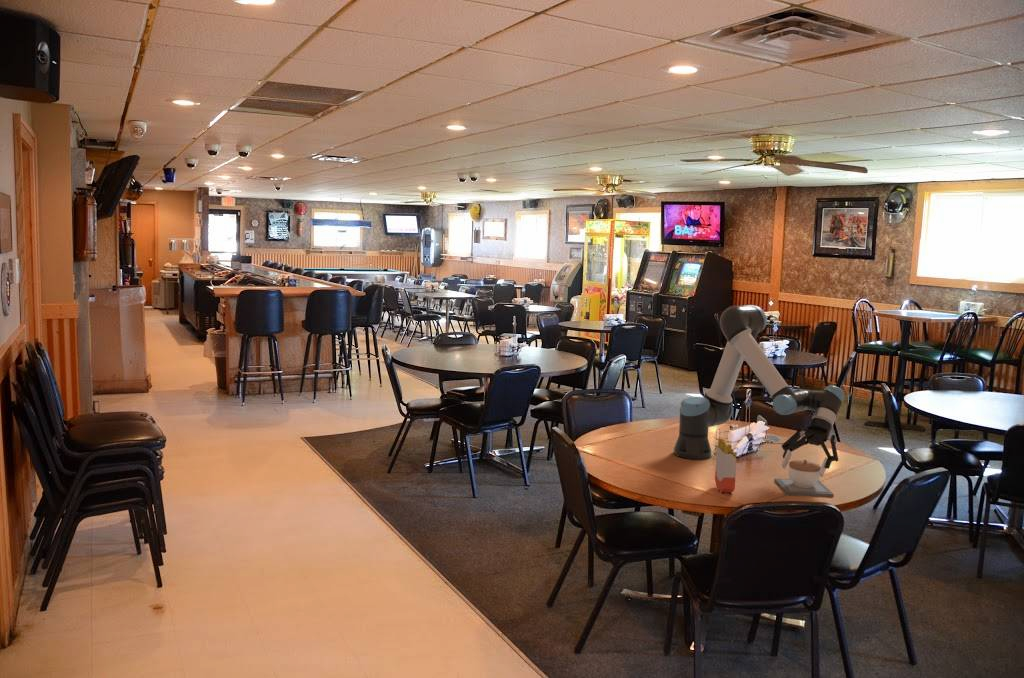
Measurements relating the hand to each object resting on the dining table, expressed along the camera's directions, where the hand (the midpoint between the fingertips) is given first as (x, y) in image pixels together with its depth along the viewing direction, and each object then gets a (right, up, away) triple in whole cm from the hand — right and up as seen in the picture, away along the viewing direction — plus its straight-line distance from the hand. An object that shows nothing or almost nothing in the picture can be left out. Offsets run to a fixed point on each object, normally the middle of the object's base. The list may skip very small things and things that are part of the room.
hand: (801, 470), depth 276 cm
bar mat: (+1, -7, +3) cm, 8 cm away
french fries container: (-28, -7, -1) cm, 29 cm away
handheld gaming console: (+13, +1, +73) cm, 74 cm away
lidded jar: (+1, -6, +2) cm, 7 cm away
